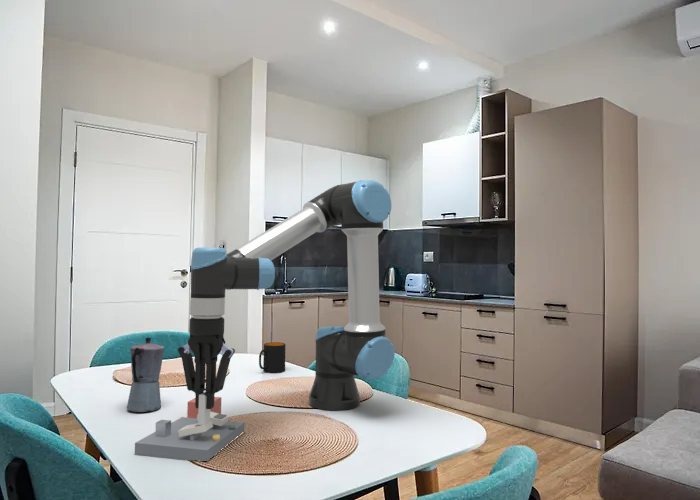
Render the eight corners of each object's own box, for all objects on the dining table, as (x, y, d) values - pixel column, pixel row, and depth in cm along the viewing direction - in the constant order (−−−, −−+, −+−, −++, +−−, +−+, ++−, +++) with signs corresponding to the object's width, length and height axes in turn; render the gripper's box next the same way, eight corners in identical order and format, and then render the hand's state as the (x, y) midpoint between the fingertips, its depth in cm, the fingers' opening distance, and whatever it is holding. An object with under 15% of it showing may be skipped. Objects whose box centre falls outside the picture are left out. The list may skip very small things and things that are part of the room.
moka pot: (170, 402, 151) (171, 334, 152) (151, 418, 136) (153, 342, 137) (137, 402, 151) (139, 334, 152) (115, 417, 136) (117, 342, 136)
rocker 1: (213, 426, 115) (211, 419, 115) (205, 431, 112) (203, 424, 112) (187, 431, 116) (186, 424, 117) (179, 436, 113) (177, 429, 113)
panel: (244, 432, 125) (244, 418, 125) (206, 462, 107) (207, 444, 107) (181, 427, 129) (181, 412, 129) (134, 454, 110) (135, 437, 111)
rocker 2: (227, 421, 123) (228, 415, 123) (221, 426, 119) (222, 419, 119) (203, 415, 124) (204, 409, 124) (196, 420, 121) (197, 413, 121)
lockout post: (170, 433, 117) (171, 420, 117) (164, 437, 114) (165, 423, 114) (161, 432, 117) (161, 419, 117) (155, 436, 115) (155, 422, 115)
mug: (251, 373, 193) (251, 345, 193) (274, 368, 202) (274, 341, 202) (266, 376, 188) (267, 347, 188) (289, 370, 197) (290, 343, 197)
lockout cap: (221, 415, 139) (221, 397, 139) (209, 423, 133) (210, 403, 133) (199, 414, 140) (199, 395, 140) (187, 421, 134) (187, 401, 134)
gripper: (241, 316, 116) (238, 420, 116) (189, 313, 119) (186, 415, 119) (226, 319, 109) (223, 431, 108) (171, 316, 112) (168, 425, 111)
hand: (204, 423), depth 114 cm, fingers closed
